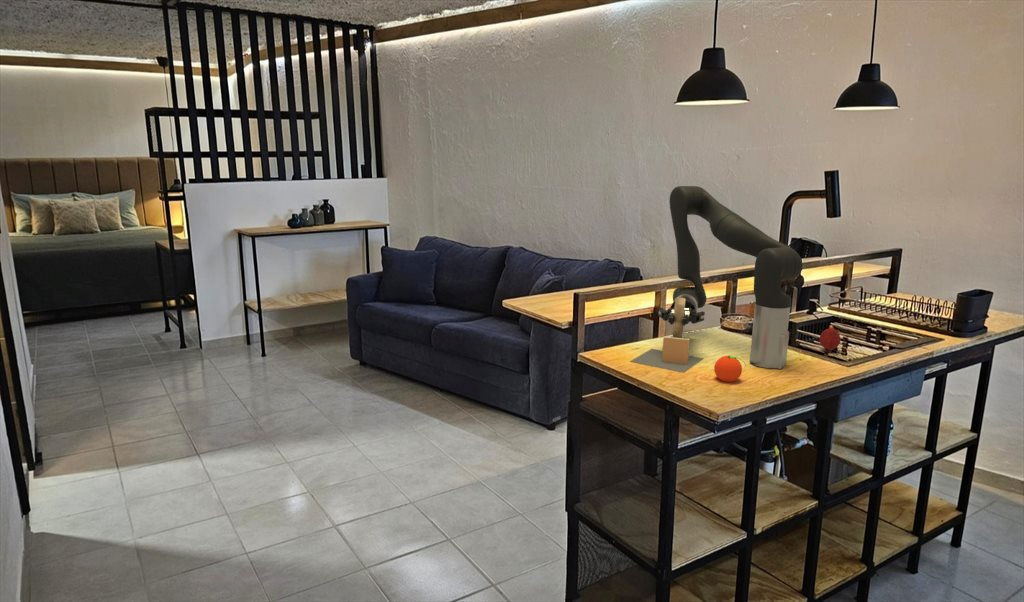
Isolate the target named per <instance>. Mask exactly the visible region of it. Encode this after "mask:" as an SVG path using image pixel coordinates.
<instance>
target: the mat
mask: <svg viewBox="0 0 1024 602" xmlns="http://www.w3.org/2000/svg"><path fill="white" fill-rule="evenodd" d="M662 352H663V349H662V350H661V349H660V350H659V349H656V348H650V349H649V350H647V351H645V352H644V353H641V354H640V355H639V356H636V357H635V358H633V359H632V360H630V361H629V362H630V363H633V364H637V365H643V366H647V367H653V368H658V369H663V370H667V371H672V372H677V373H683V374H685V373H686V372H687V371H689V370H690V369H692V368H693V367H694V366H696V365H697V364H699V363H700V362H701V361H703V360H704V359H705V358H703V357H699V356H698V357H697V356H694V355H688V363H687V364H681V363H672V362H664V361H662Z"/></svg>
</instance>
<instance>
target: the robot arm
mask: <svg viewBox="0 0 1024 602" xmlns="http://www.w3.org/2000/svg"><path fill="white" fill-rule="evenodd" d="M669 209H670V215H671V221H672V228H673V233H674V237H675V243H676V252H677V253H676V254H677V277H678V278H679V279H681V280H686V281H689V282H691V283H693V285H694V286H679V287H676V288H675V289H674V291H673V292H672V301H673V302H672V304H671V305H670V307H669V308H667V309H666V308H663V307H659V308H658V317H659V318H660V319H661V320H663V321H665V322H667V323H670V324H669V325H673V323H674V309H675V298H678V297H680V298H685V312H684V317H683V323H682V326H683V327H686V325H688V324H690V323H691V324H694V325H695V324H697V323H700V322H703V321H705V314H706V312H705V311H698V309H701V308H703V307H705V305H706V302H707V294H706V291H705V288H704V286H703V281H702V276H701V259H700V258H701V257H700V251H699V248H698V245H697V244H696V241H695V240H694V239H695V238H694V237H693V235H692V233H691V231H690V228H689V224H688V216H689V215H691V216H692V215H693V216H699V217H700V218H702V219H704V220H705V221H707V222H708V223H709V227H710V231H711V234H712V235H713V236H714V237H715V239H716V240H718V241H719V242H721V243H722V244H724V245H725V246H726V247H728V248H730V249H731V250H734V251H737V252H740V253H742V254H746V255H749V256H752V257H754V258H755V263H754V271H753V272H754V273H753V275H754V276H753V294H754V299H755V302H754V313H753V321H752V334H751V341H750V342H751V343H750V354H749V363H750V364H752V365H753V366H757V367H760V368H765V369H766V368H767V369H778V370H779V369H780V370H781V369H782V368H783V367H784V366H785V365H786V364H787V357H788V349H789V348H788V347H789V337H790V331H789V330H788V329H789V323H790V322H789V321H790V312H791V304H792V297H791V295H789V294H787V293H784V292H783V291H782V288H781V287H782V282H783V281H790V280H793V279H795V278H797V277H798V276H799V275H801V273H802V271H803V267H804V266H803V265H804V263H803V260H802V258H801V256H800V254H799V253H798V252H797V251H796V250H795V249H794V248H792V247H791V246H789V245H786V244H784V243H783V242H780V241H778V240H776V239H774V237H771V236H769V235H768V234H766V233H765V232H763V231H762V230H761V229H760V228H758V227H756V226H755V225H753V224H752V223H750V222H749V221H748V220H746V219H745V218H743V217H741V216H740V215H739V214H737V213H736V212H734V211H732V210H731V209H730V208H728V207H727V206H726V205H723V204H722V203H720V202H719V200H717V199H716V198H715V197H714V196H712V195H711V194H710V193H709V192H708V191H707V190H706V189H704V188H703V187H701V186H697V185H685V186H684V185H678V186H675V187H674V188H673V189H672V190H671V192H670V195H669Z"/></svg>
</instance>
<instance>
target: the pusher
mask: <svg viewBox="0 0 1024 602" xmlns="http://www.w3.org/2000/svg"><path fill="white" fill-rule="evenodd" d="M684 312H685V298H680V297H678V298H675V309H674V323H673V328H672V337H674V338H684V339H687V338H685V337H683V336H684V326H682V323H683V317H684Z"/></svg>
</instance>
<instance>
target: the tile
mask: <svg viewBox="0 0 1024 602" xmlns="http://www.w3.org/2000/svg"><path fill="white" fill-rule="evenodd" d="M684 338H685V337H683V338H674V337H673V336H663V339H662V351H663V352H662V361H664V362H672V363H681V364H687V363H688V356H689V351H690V350H689V349H690V338H686V339H684Z"/></svg>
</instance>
